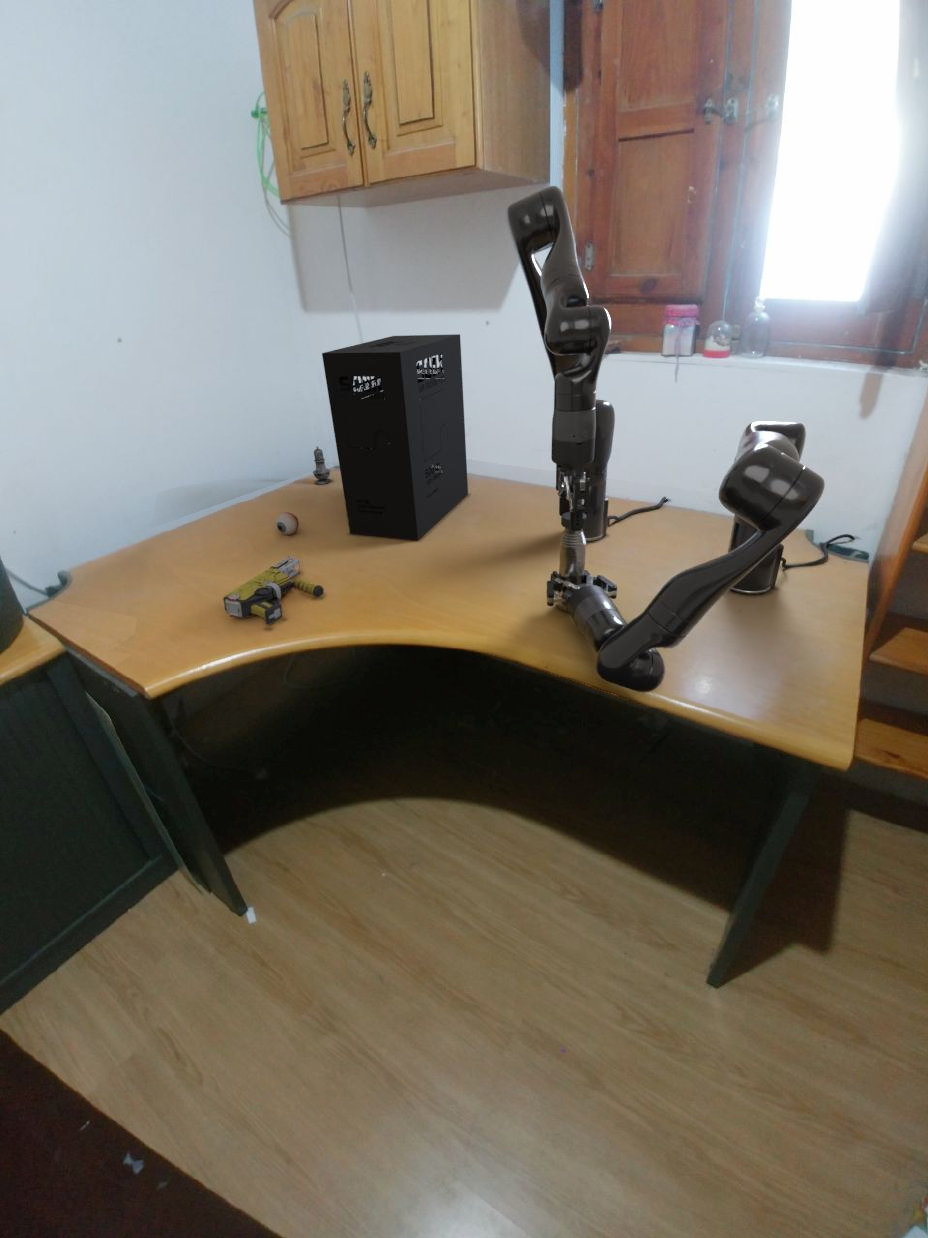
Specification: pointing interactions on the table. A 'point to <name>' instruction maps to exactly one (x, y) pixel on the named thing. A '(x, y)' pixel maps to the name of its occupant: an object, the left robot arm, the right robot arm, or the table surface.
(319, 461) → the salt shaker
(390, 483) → the cardboard box
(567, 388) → the left robot arm
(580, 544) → the bottle
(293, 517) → the eyeball
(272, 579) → the toy gun
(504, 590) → the table surface
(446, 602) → the table surface
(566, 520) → the cap
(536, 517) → the table surface
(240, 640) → the table surface
